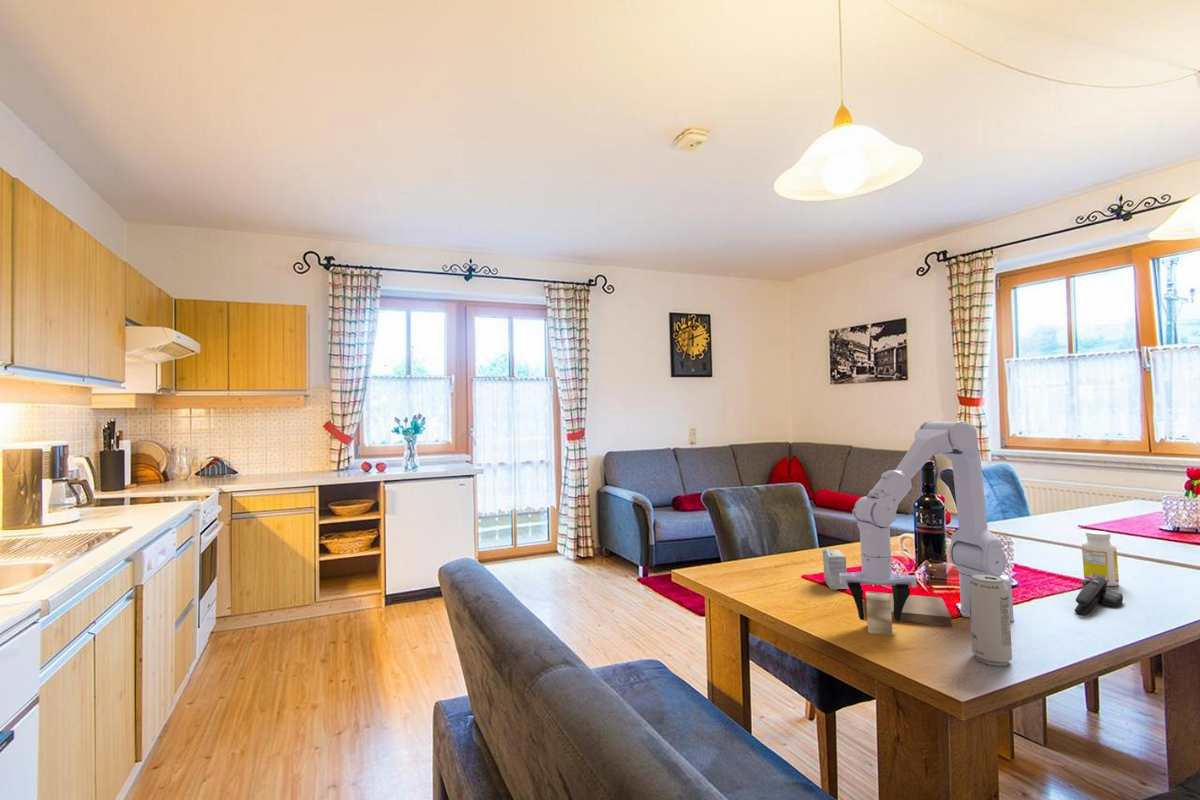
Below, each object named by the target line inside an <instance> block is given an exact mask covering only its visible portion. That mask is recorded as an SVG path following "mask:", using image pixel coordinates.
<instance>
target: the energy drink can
mask: <svg viewBox="0 0 1200 800" xmlns="http://www.w3.org/2000/svg"><path fill="white" fill-rule="evenodd" d="M1003 581H1004V579H1003V578H1002V577H999V576H996V575H991V574H973V575H972V579H971V581H970V582H969V584H968V587H969V605H970V617H969V619H970V623H969V624H970V635H971V637H970V639H971V652H972V654H973V655H974V656H975V659H976V660H977V661H980V662H981V663H983V664H986V665H991V666H996V667H997V666H998V667H1005V666H1008V665H1009V663H1010V661H1012V660H1013V648H1012V631H1011V621H1010V611H1009V594H1008V588H1007V586H1006V585H1005V583H1004V582H1003Z"/></svg>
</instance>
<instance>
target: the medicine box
mask: <svg viewBox="0 0 1200 800" xmlns="http://www.w3.org/2000/svg"><path fill="white" fill-rule="evenodd" d="M822 560H823V561H822V562H823V578H824V582H825V584H826V585H827V586H828V589H830V590H831V591H832V590H833V591H839V590H838V589H848V590H849V587H848V585H847V584H846V585H843V584H841V583H840V575H839V573H848V570H847V556H845V555H844V554H843V552H842V551H841V550H840V549H823V550H822Z"/></svg>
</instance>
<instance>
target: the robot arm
mask: <svg viewBox="0 0 1200 800" xmlns="http://www.w3.org/2000/svg"><path fill="white" fill-rule="evenodd" d="M914 439H915V440H914V441H913V443H912V444H911V445H910V447H909V449H907V451H906V453H905V455H904V456H903V457H902V459H901V461H900V462H899V463H898V465H897V466H896V468H895V469H893V470H891V469H890V470H887V471H885V472H883V473H882V474H881V475H880V477H881V478H880V479H879V480H878V482H876V484H875V485H874V486H873V488H871V489H870V490H869V492H868V494H867V495H865V496H862V497H860V498H859V499H858V500H856V502H855V503H854V507H853V509H852V510H851V512H852V516H853V518H854V519H855V521H856V523H857V528H858V530H859V541H860V542H859V543H860V557H861V560H860V561H861V571H857V572H855V571H854V572H847V573H839V575H840V583H841V584H843V585H846V584H847V585H848V590H849V591H850V593H851V595H852V597H853V600H854V603H855V605H856V609H857V614H858V618H859V620H860V621H865V611H864V610H865V609H864V590H863V588H862V585H873V586H874V585H875V586H891V590H892V594H893V600H894V619H895V620H896V621H895V622H896V623H901V621H900V618H901V613H902V610H903V607H904V604H905V602H906V600H907V598H908V596H909V595H911V588H917V587H918V586H917V585H918V584H917V577H916V576H915V575H913V574H911V575H910V574H899V573H893V569H892V567H893V566H892V550H891V549H892V548H891V529H890V528H891V527H890V525H892V524H893V523H895V520H896V517H897V510H898V509H899V508H898V507H899V504H900V503H901V502H902V501H903V499H904V498H905V497H906V496H907V494H908V493H909V492H910V491H911V489H912V488H913V484H912V481H911V480H912V479H913V477H914V476H915V475H916V474H917V473H918V472H919V471H920V470H921V469H922V468H923V466H924V465H925V464H926V463H928V461H929V460H930V459H931V458H932V457H933V456H934V455H935V456H936V455H940V454H941V455H943V456H945V458H947V459H949V460H950V461H951V464H952V475H953V476H952V477H953V484H954V493H955V505H956V512H957V513H956V514H957V521H958V524H957V525H958V530H957V531H955V532H954V533H953V534H951V535H950V546H949V551H948V556H949V560H950V562H951V563H952V564H953V565H954V566H955V570H956V571H958V575H959V577H958V578H959V579H958V580H959V596H960V602H959V603H956V604H955V605H956V607H957V606H958V607H957V609H958V608H959V609H958V611H959V610H960V611H959V612H960V614H961V616H962V617H965V618H970V605H969V587H968V584H969V582H970V581H971V579H972V575H973V574H991V575H996V576H999V577H1002V578H1003V579H1004V581H1003V582H1004V583H1005V585H1006V586H1007V588H1008V594H1009V611H1010V622H1015V618H1014V605H1013V604H1014V603H1013V590H1012V582H1011V580H1010V577H1009V576H1008V575H1005V574H1004V572H1005V570H1006V568H1007V562H1008V561H1007V560H1008V559H1007V555H1006V553H1005V551H1004V549H1003V546H1002V545H1003V544H1002V540H1000V539H999V538H998V537H997V536H996V535H994V533H992V532H991V530H989V528H988V517H987V510H986V509H987V508H986V498H985V489H984V481H983V470H982V461H981V452H980V451H981V450H980V448H979V441H978V429H977V428H976V427H974V426H973V425H971V424H970V423H968V422H967V421H963V420H958V421H933V420H927V421H924V422H923V423H921V425H920V426H919V428H918V429H917V430H916V431H915V432H914ZM910 587H911V588H910Z"/></svg>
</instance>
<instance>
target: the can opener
mask: <svg viewBox="0 0 1200 800" xmlns="http://www.w3.org/2000/svg"><path fill="white" fill-rule="evenodd" d="M1081 584H1082V586H1083V588H1082V589H1081V590H1080V592H1079V593H1078V594H1077V596H1076V598H1075V602H1076V603H1077V605H1076V607H1075V609H1074V612H1075V613H1076V614H1077V615H1080V616H1088V615H1089V614H1090V613H1091V612H1092V611H1093V610H1094V609H1095V608H1096V606H1097V604H1098V603H1101V602H1102V605H1103V606H1108V607H1113V608H1118V607H1119V606H1121V605H1122V603H1123V601H1124V596H1123V593H1120V592H1118V591H1116V590H1113V589H1111V588H1109V589H1107V587H1108V586H1107V581H1106V580H1105V579H1103V578H1102V577H1097V578H1095V579H1094V580H1085V579H1082V580H1081Z"/></svg>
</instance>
